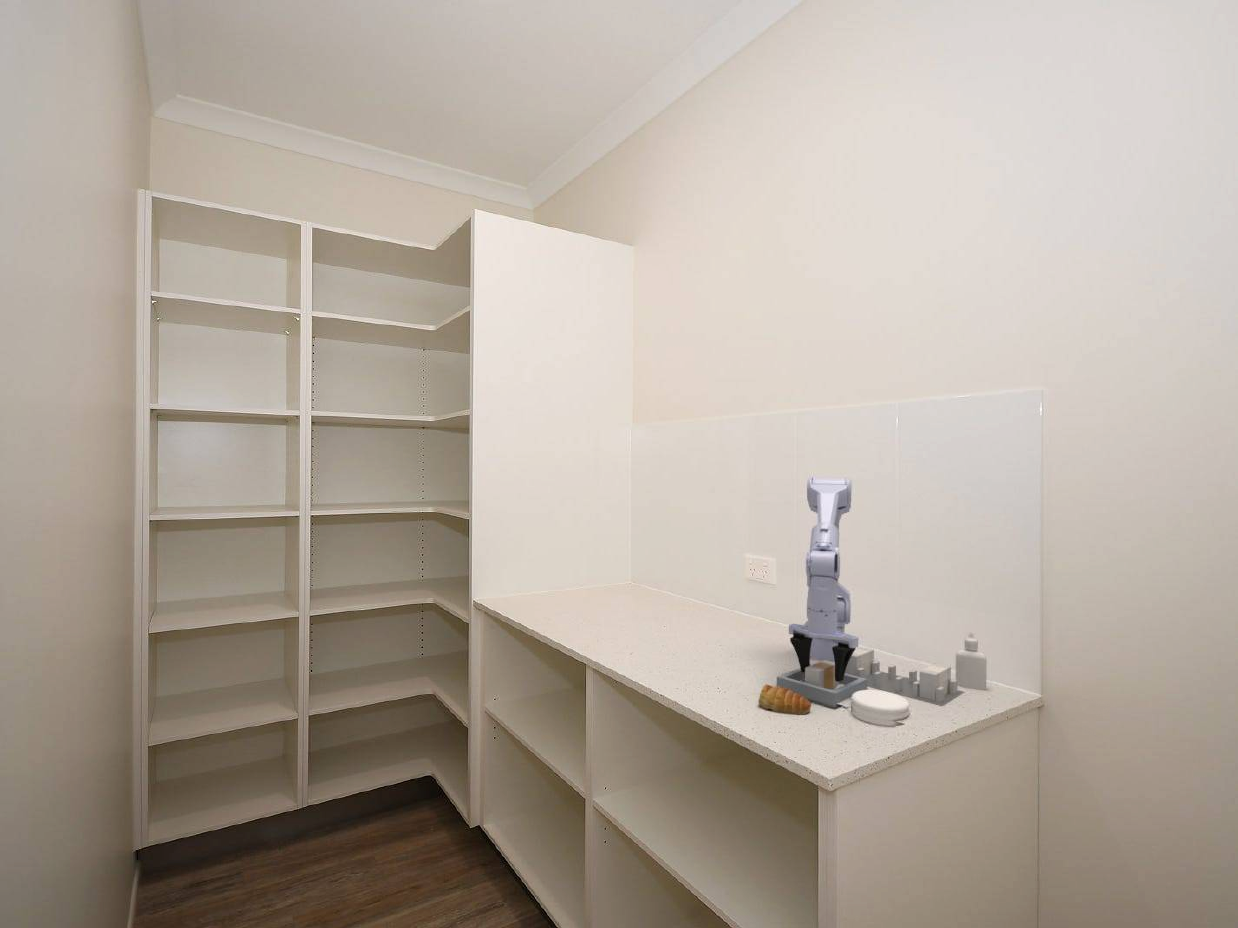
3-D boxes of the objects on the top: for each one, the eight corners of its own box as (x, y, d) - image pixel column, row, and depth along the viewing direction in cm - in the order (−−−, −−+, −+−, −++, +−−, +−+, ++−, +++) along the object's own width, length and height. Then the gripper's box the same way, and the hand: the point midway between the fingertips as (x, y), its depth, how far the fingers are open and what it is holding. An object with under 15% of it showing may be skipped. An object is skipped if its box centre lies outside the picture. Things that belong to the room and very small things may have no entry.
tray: (776, 691, 130) (776, 676, 130) (809, 677, 139) (809, 664, 139) (835, 709, 121) (835, 693, 121) (867, 693, 130) (867, 678, 130)
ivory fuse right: (919, 696, 125) (919, 671, 125) (935, 687, 131) (935, 663, 131) (935, 700, 123) (935, 674, 123) (950, 691, 129) (950, 666, 129)
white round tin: (875, 703, 125) (876, 685, 125) (921, 721, 116) (921, 702, 116) (839, 712, 120) (839, 693, 120) (884, 731, 111) (884, 711, 111)
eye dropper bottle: (964, 684, 136) (964, 628, 136) (990, 693, 131) (990, 634, 131) (951, 688, 134) (952, 630, 134) (977, 696, 129) (977, 637, 129)
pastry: (814, 708, 122) (815, 688, 122) (805, 720, 116) (805, 699, 116) (767, 698, 127) (767, 679, 127) (755, 709, 121) (755, 689, 121)
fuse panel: (830, 681, 137) (830, 664, 137) (856, 669, 145) (856, 654, 145) (942, 711, 120) (942, 692, 120) (964, 696, 129) (964, 679, 129)
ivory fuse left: (843, 676, 137) (843, 653, 137) (860, 669, 143) (860, 646, 143) (856, 680, 135) (856, 656, 135) (873, 672, 140) (873, 649, 140)
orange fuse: (804, 692, 128) (805, 667, 128) (824, 683, 134) (825, 660, 134) (818, 696, 126) (818, 671, 126) (838, 687, 132) (838, 663, 132)
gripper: (780, 605, 133) (780, 671, 132) (846, 618, 122) (845, 689, 122) (799, 601, 137) (798, 664, 137) (863, 613, 127) (862, 681, 127)
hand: (821, 675), depth 130 cm, fingers open, 7 cm apart
